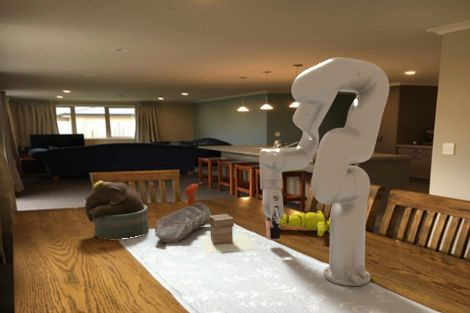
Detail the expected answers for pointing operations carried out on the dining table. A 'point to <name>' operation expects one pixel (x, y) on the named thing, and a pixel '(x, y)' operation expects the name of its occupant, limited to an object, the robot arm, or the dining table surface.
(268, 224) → the cylinder
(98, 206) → the brown blob in bowl
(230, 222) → the slab top
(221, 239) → the slab bottom
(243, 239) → the board
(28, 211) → the dining table surface
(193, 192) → the toy drill
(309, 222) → the toy
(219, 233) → the slab mid
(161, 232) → the decorative stone
